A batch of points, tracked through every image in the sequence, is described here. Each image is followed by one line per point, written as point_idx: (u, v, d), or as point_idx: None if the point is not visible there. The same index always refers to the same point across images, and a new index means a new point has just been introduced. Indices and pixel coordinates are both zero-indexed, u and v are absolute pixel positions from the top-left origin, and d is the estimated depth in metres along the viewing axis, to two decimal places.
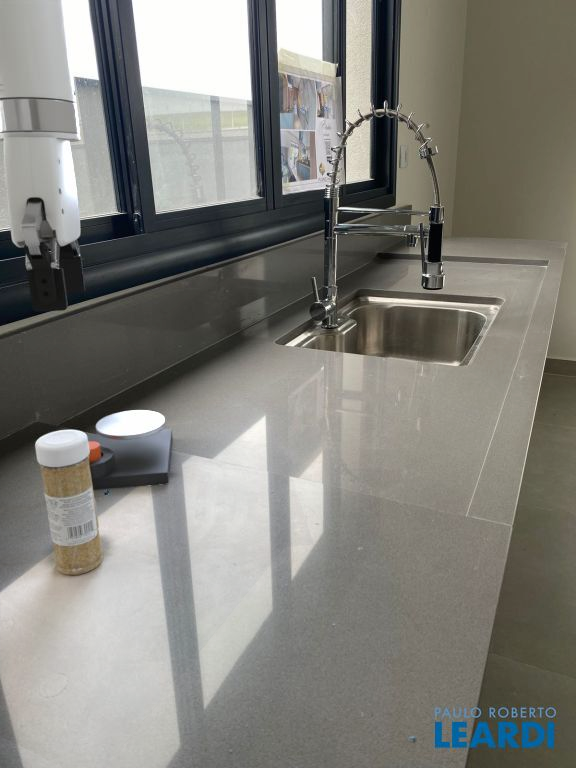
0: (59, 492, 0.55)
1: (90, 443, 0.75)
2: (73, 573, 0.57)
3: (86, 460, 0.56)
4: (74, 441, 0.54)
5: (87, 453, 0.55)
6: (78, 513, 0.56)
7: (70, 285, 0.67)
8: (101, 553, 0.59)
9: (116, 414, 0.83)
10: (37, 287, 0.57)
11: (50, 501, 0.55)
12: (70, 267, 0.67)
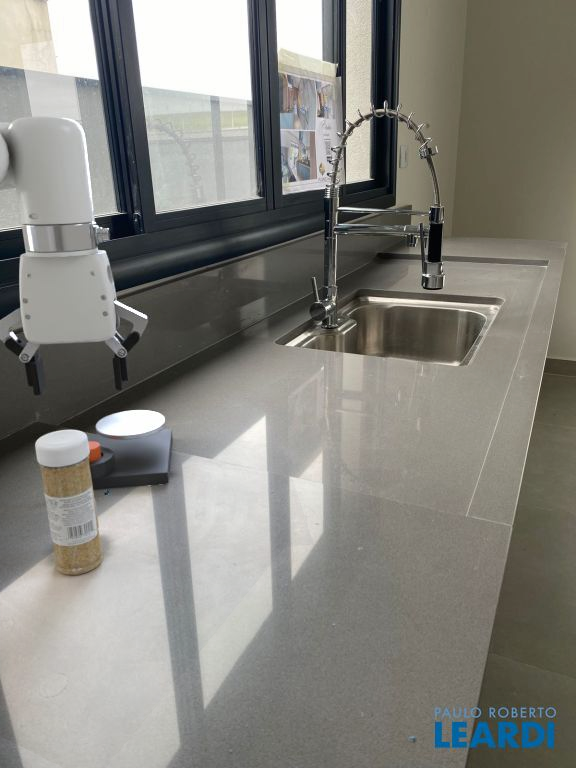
0: (59, 492, 0.55)
1: (90, 443, 0.75)
2: (73, 573, 0.57)
3: (86, 460, 0.56)
4: (74, 441, 0.54)
5: (87, 453, 0.55)
6: (78, 513, 0.56)
7: None
8: (101, 553, 0.59)
9: (116, 414, 0.83)
10: None
11: (50, 501, 0.55)
12: None
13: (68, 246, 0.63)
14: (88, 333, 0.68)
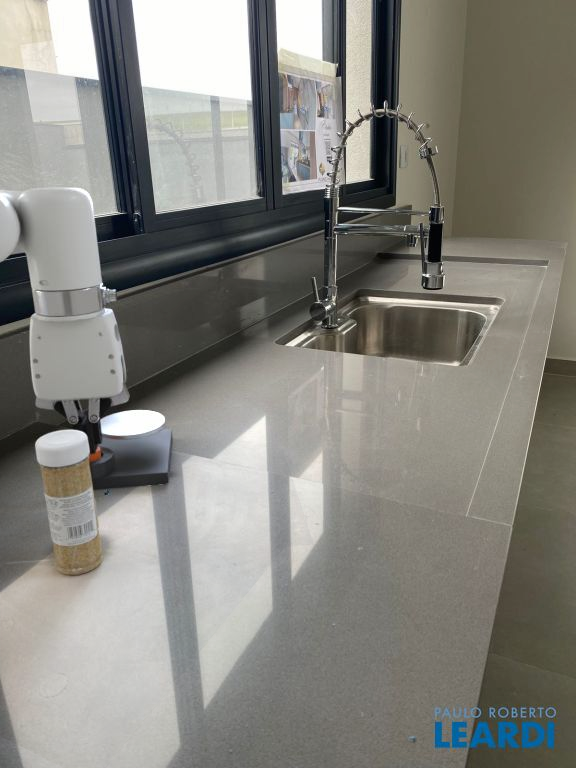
0: (59, 492, 0.55)
1: None
2: (73, 573, 0.57)
3: (86, 460, 0.56)
4: (74, 441, 0.54)
5: (87, 453, 0.55)
6: (78, 513, 0.56)
7: None
8: (101, 553, 0.59)
9: (116, 414, 0.83)
10: None
11: (50, 501, 0.55)
12: None
13: (77, 310, 0.65)
14: (96, 390, 0.70)
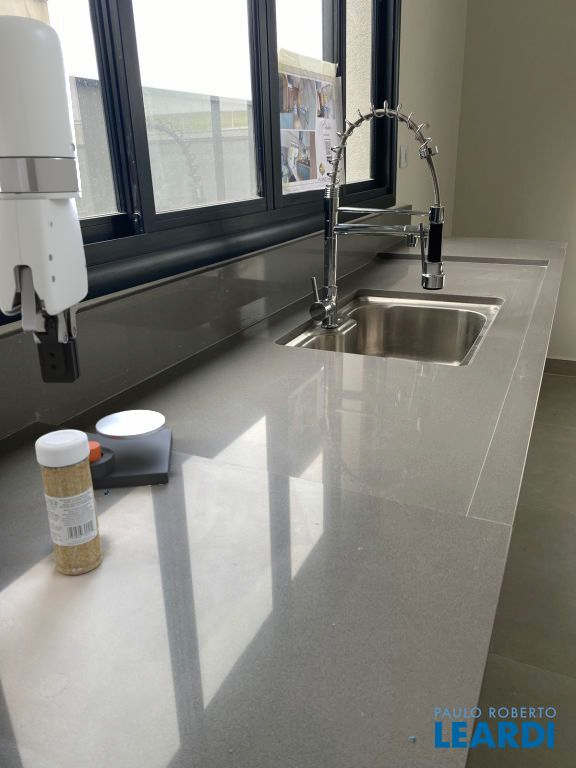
0: (59, 492, 0.55)
1: (90, 443, 0.75)
2: (73, 573, 0.57)
3: (86, 460, 0.56)
4: (74, 441, 0.54)
5: (87, 453, 0.55)
6: (78, 513, 0.56)
7: None
8: (101, 553, 0.59)
9: (116, 414, 0.83)
10: (45, 360, 0.57)
11: (50, 501, 0.55)
12: None
13: None
14: (80, 291, 0.58)
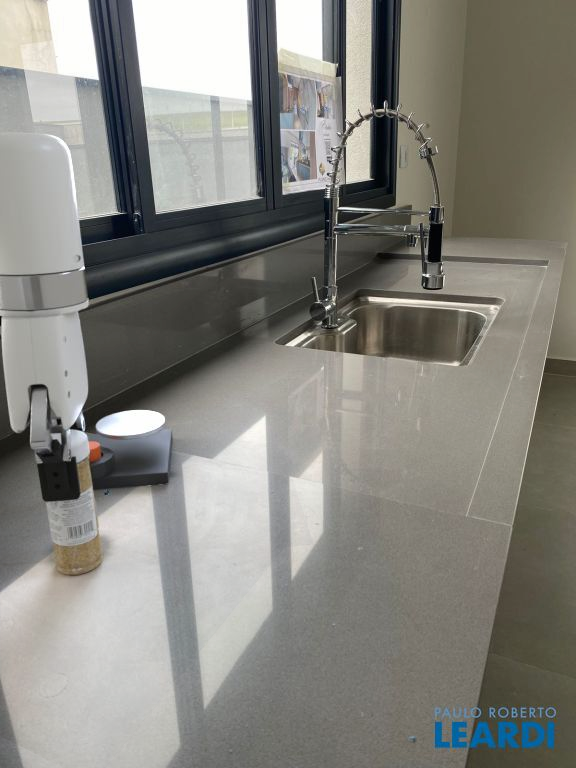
0: None
1: (90, 443, 0.75)
2: (73, 573, 0.57)
3: (86, 460, 0.56)
4: (74, 441, 0.54)
5: (87, 453, 0.55)
6: (78, 513, 0.56)
7: None
8: (101, 553, 0.59)
9: (116, 414, 0.83)
10: (48, 480, 0.52)
11: None
12: None
13: None
14: (85, 394, 0.56)
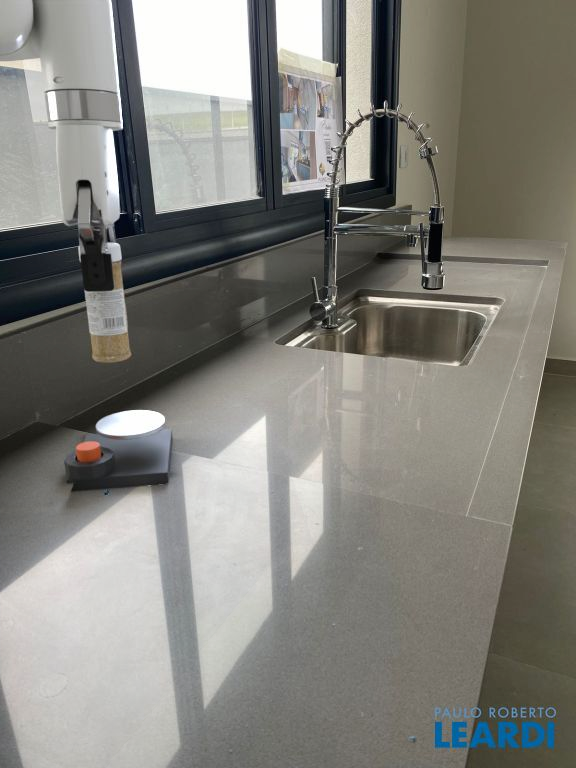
0: None
1: (90, 443, 0.75)
2: (107, 360, 0.70)
3: (119, 264, 0.68)
4: (110, 244, 0.67)
5: (120, 257, 0.68)
6: (112, 307, 0.68)
7: None
8: (129, 351, 0.72)
9: (116, 414, 0.83)
10: (89, 270, 0.65)
11: (90, 295, 0.68)
12: None
13: None
14: (117, 212, 0.69)
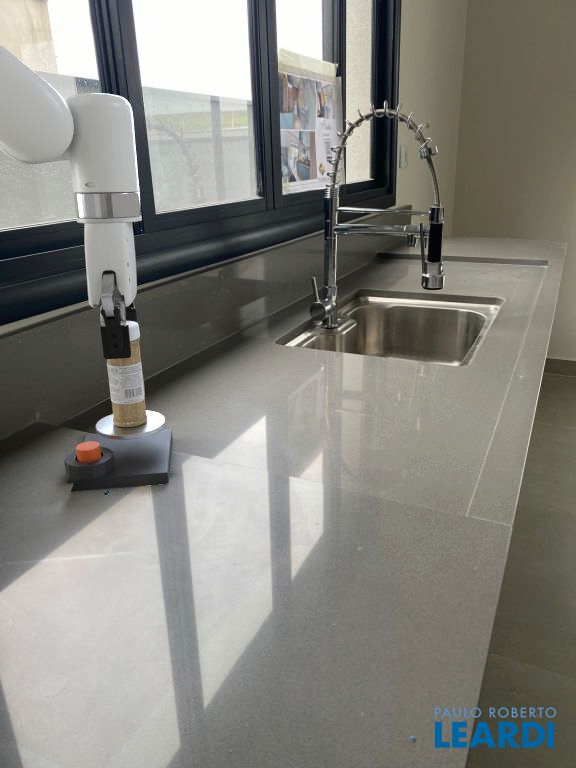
0: (119, 362, 0.76)
1: (90, 443, 0.75)
2: (127, 425, 0.79)
3: (138, 341, 0.77)
4: (130, 325, 0.76)
5: (138, 335, 0.77)
6: (132, 379, 0.77)
7: None
8: (146, 415, 0.81)
9: None
10: (108, 340, 0.71)
11: (112, 369, 0.76)
12: (127, 318, 0.81)
13: None
14: None
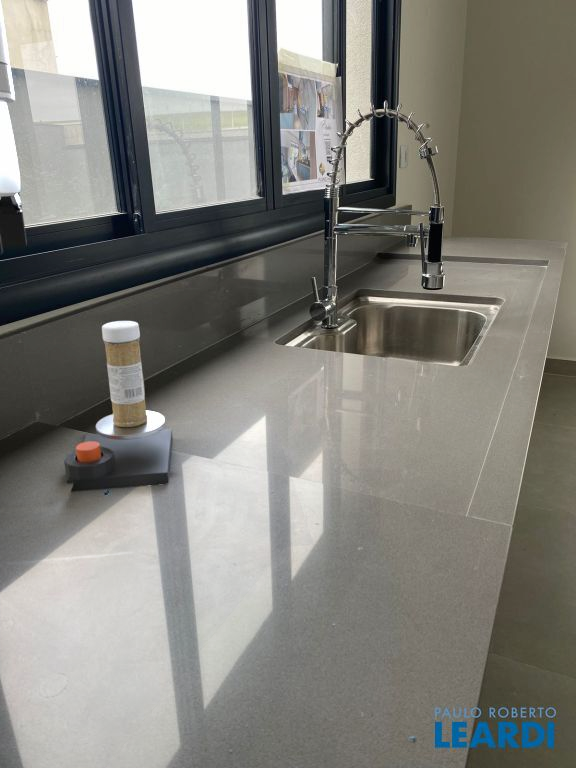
0: (119, 362, 0.76)
1: (90, 443, 0.75)
2: (127, 425, 0.79)
3: (138, 341, 0.77)
4: (130, 325, 0.76)
5: (138, 335, 0.77)
6: (132, 379, 0.77)
7: (12, 238, 0.73)
8: (146, 415, 0.81)
9: None
10: None
11: (112, 369, 0.76)
12: (12, 221, 0.72)
13: None
14: (15, 185, 0.69)
